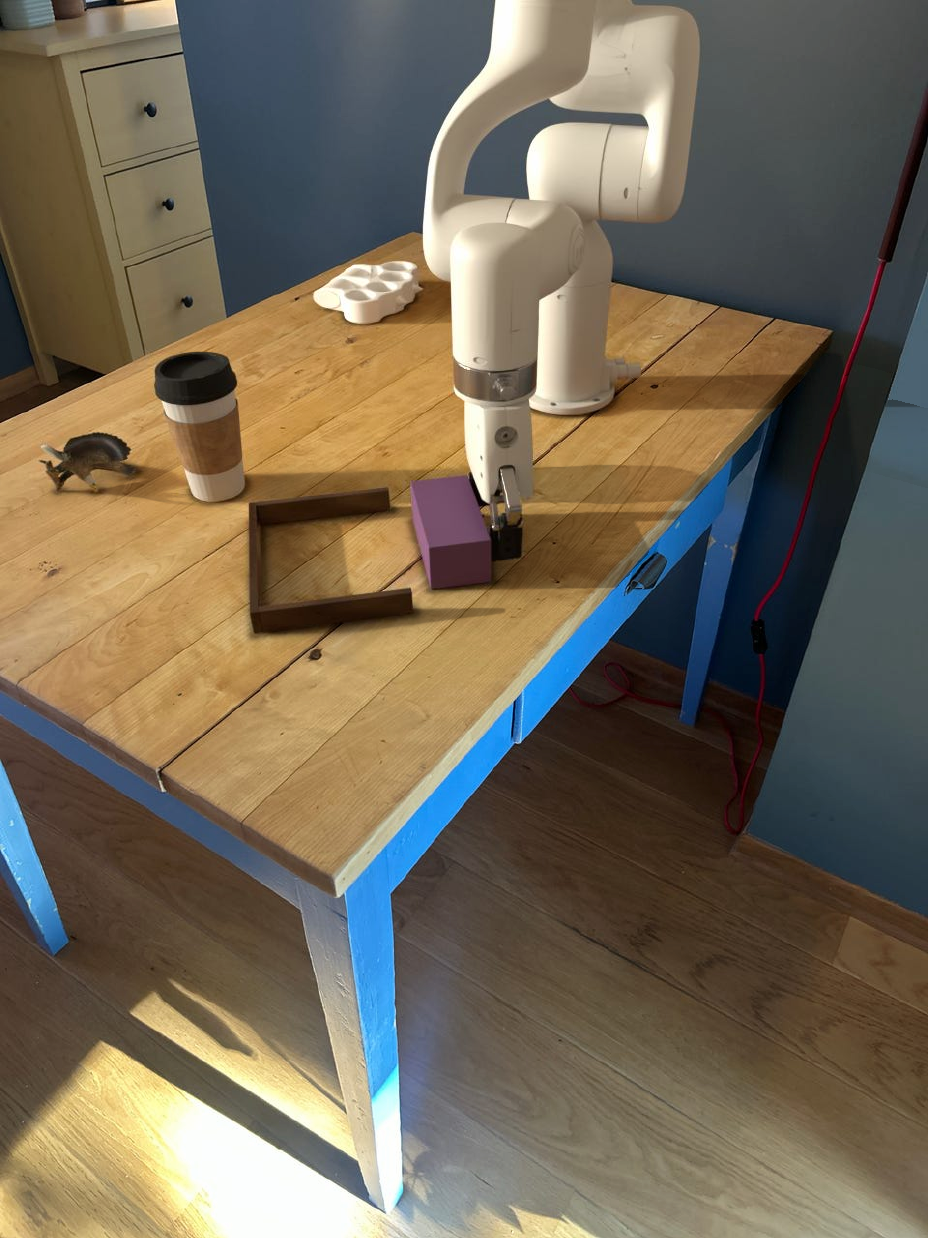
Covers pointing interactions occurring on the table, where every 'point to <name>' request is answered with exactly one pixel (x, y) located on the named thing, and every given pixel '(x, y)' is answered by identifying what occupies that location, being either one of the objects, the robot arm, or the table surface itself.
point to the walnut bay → (327, 607)
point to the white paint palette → (370, 291)
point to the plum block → (451, 532)
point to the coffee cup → (203, 421)
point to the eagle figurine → (88, 458)
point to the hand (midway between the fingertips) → (494, 530)
